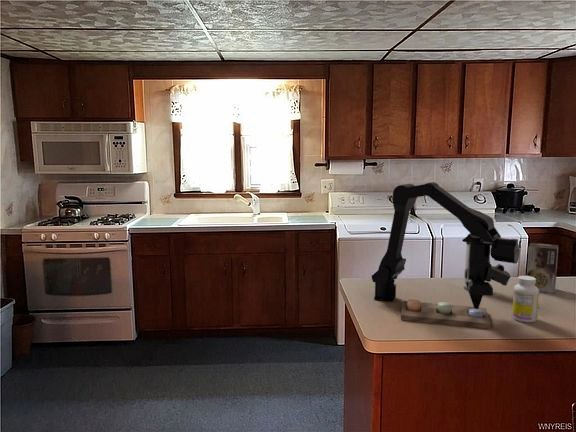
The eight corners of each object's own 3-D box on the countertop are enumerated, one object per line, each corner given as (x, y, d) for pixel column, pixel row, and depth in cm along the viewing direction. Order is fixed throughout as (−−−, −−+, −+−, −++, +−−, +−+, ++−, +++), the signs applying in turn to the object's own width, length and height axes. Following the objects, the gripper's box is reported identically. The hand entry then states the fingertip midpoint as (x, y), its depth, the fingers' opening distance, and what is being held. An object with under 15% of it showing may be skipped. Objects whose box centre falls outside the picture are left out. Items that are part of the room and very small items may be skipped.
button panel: (400, 319, 139) (401, 315, 138) (403, 305, 151) (403, 300, 151) (490, 328, 132) (491, 323, 131) (485, 312, 144) (485, 307, 144)
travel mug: (481, 292, 162) (484, 237, 159) (461, 289, 166) (464, 235, 162) (484, 288, 167) (488, 234, 164) (465, 285, 171) (468, 232, 168)
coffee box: (555, 288, 166) (559, 245, 163) (554, 293, 160) (558, 248, 158) (527, 284, 171) (530, 242, 168) (525, 289, 165) (528, 245, 163)
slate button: (468, 320, 137) (469, 312, 137) (467, 315, 141) (468, 308, 141) (483, 321, 136) (483, 314, 136) (481, 316, 140) (482, 309, 140)
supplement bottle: (524, 313, 143) (527, 273, 141) (541, 321, 136) (545, 279, 134) (506, 316, 141) (509, 275, 138) (524, 324, 134) (527, 282, 132)
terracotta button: (406, 310, 142) (407, 303, 142) (407, 306, 146) (407, 298, 146) (420, 311, 141) (420, 304, 141) (420, 307, 145) (420, 300, 145)
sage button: (437, 313, 140) (437, 305, 139) (437, 308, 144) (437, 301, 143) (451, 314, 139) (451, 307, 138) (450, 310, 142) (451, 302, 142)
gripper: (514, 268, 125) (510, 323, 127) (504, 252, 142) (500, 300, 145) (470, 265, 128) (467, 319, 130) (465, 250, 145) (463, 297, 148)
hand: (476, 308), depth 138 cm, fingers closed
